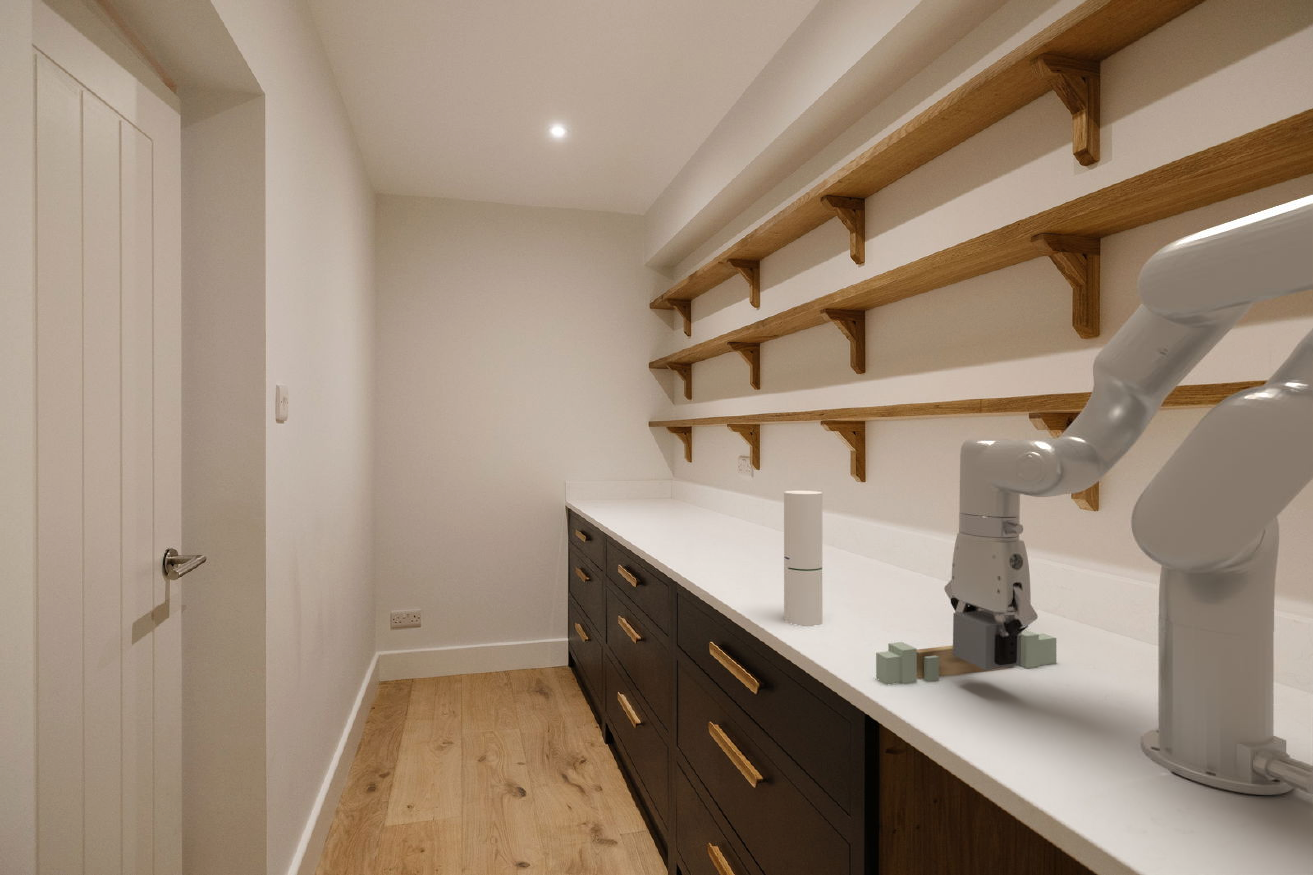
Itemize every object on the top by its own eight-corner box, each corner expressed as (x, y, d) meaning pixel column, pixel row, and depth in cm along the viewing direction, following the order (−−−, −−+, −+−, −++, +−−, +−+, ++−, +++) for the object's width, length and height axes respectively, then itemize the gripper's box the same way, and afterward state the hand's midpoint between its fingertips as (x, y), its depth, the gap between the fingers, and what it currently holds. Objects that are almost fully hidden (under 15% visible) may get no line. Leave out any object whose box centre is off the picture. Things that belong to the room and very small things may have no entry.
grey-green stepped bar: (1059, 664, 101) (1059, 632, 100) (889, 687, 91) (889, 652, 91) (1041, 657, 104) (1041, 626, 104) (874, 679, 95) (874, 645, 95)
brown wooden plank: (1002, 661, 102) (1002, 632, 102) (1016, 666, 100) (1016, 637, 100) (906, 673, 97) (906, 642, 97) (918, 679, 94) (918, 648, 94)
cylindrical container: (809, 616, 128) (809, 490, 128) (829, 626, 121) (829, 493, 121) (777, 619, 125) (777, 491, 125) (796, 630, 119) (796, 494, 119)
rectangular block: (1020, 665, 88) (1021, 622, 88) (985, 670, 87) (986, 625, 86) (986, 651, 94) (987, 610, 94) (952, 654, 92) (953, 613, 92)
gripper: (1064, 536, 83) (1061, 675, 83) (964, 517, 99) (962, 633, 100) (1018, 538, 81) (1015, 681, 81) (923, 519, 97) (921, 638, 97)
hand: (986, 653), depth 90 cm, fingers closed on rectangular block, 6 cm apart
